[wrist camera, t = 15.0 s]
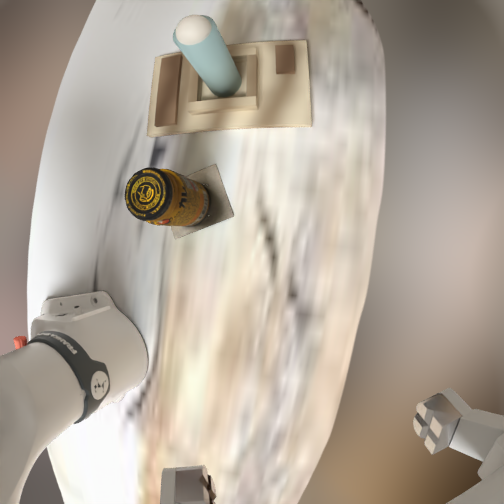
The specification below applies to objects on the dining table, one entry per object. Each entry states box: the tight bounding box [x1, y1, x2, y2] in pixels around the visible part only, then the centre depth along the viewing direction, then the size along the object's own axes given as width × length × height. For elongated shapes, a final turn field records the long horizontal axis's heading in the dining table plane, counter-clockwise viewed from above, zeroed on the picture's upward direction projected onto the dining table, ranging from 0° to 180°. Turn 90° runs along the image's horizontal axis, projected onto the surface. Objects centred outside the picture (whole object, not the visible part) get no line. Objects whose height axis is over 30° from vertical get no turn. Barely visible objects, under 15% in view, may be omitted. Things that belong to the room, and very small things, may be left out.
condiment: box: [125, 164, 234, 239], centre depth 35 cm, size 7×8×12 cm
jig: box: [147, 40, 312, 137], centre depth 37 cm, size 22×13×3 cm, turn 91°
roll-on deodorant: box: [173, 15, 242, 97], centre depth 30 cm, size 4×4×15 cm
